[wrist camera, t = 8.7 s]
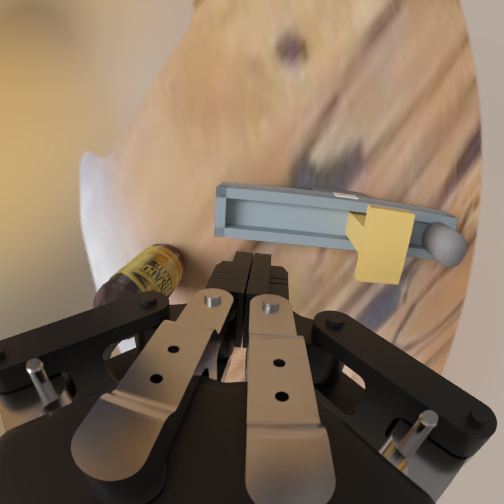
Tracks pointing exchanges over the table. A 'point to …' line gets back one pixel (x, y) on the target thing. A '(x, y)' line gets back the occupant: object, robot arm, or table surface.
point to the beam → (325, 219)
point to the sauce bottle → (142, 279)
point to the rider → (380, 242)
